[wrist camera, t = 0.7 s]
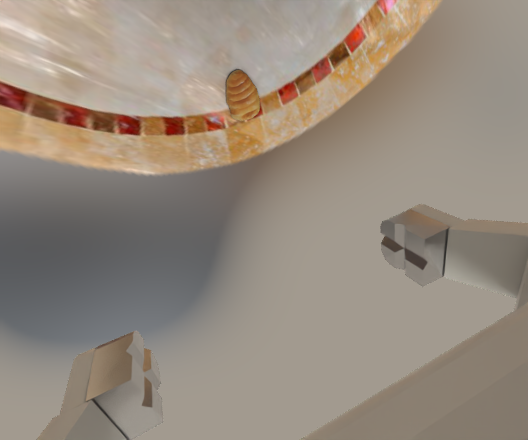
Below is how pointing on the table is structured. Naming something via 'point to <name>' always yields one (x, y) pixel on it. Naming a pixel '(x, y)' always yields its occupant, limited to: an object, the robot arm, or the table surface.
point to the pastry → (241, 96)
